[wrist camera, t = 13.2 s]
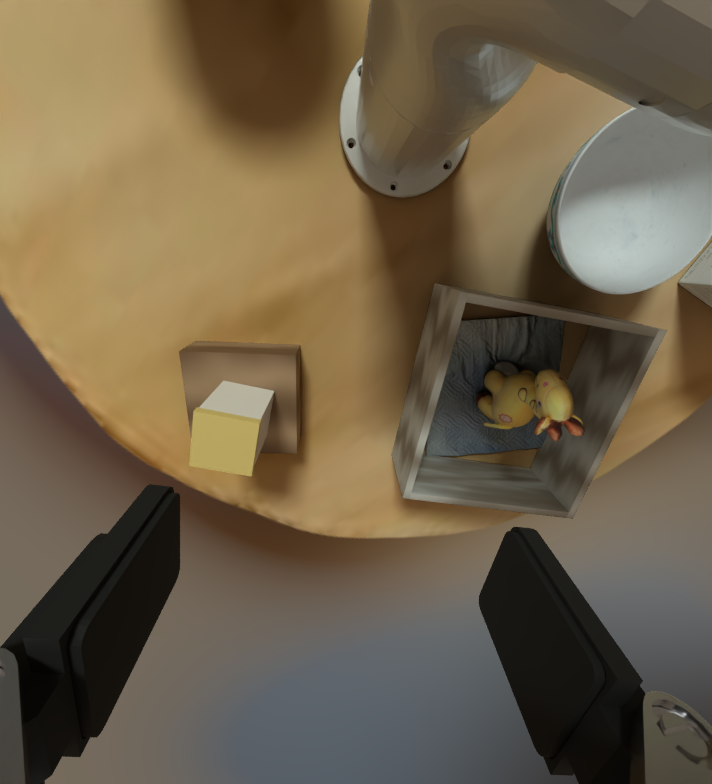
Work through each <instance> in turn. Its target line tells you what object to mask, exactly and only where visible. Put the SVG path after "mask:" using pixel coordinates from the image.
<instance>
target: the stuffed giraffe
mask: <svg viewBox="0 0 712 784" xmlns="http://www.w3.org/2000/svg"><path fill="white" fill-rule="evenodd" d="M564 325H565V321H564V320H559V319H553V318H548V317H543V316H537V315H535V316H529V317H510V318H498V319H482V320H469V321H461V322H460V325H459V329H458V332H457V335H456V339H455V342H454V346H453V349H452V353H451V356H450V360H449V363H448V367H447V370H446V374H445V377H444V381H443V384H442V388H441V391H440V395H439V398H438V402H437V405H436V409H435V412H434V416H433V419H432V423H431V426H430V430H429V433H428V437H427V456H433V455H434V456H438V455H439V456H460V455H467V454H485V453H494V452H505V451H513V450H515V449H531V448H542V445H543V443H544V441H545V439H546V437H547V433H548V435H549V436H550V438H551V439H552V440H554V441H559V439H560V438H561V436H562V428H561V427H562V425H563V424H564V425H565V427H566V428H567V430H568V432H569V433H570V434H572V435H574V436H577V437H578V436H582V435H584V433H585V427H584V424H583V421H582V420H581V419H580V418H579V417H577V416H576V415H573V408H574V406H573V397H572V394H571V392H570V390H569V388H568V385H567V383H566V381H565V379H564V378H563V377H562V375H560V374H559V364H560V360H561V351H562V345H563V334H564Z"/></svg>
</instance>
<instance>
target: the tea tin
mask: <svg viewBox="0 0 712 784" xmlns="http://www.w3.org/2000/svg"><path fill="white" fill-rule="evenodd" d="M273 397H274V391H273V390H268V389H263V388H258V387H253V386H248V385H243V384H238V383H233V382H228V381H223V382H222V383H221V384H220V385H219V386H218V387H217V388H216V389H215V390H214V392H213V393H212V394H211V395H210V396H209V397H208V398H207V399H206V400H205V401H204V403H203V404H202V405H201V406H200V407H199V408H198V407H197V408H196V409H195V410H194V411H193V424H192V437H191V450H190V463H189V466H193V467H199V468H205V469H211V470H217V471H222V472H228V473H234V474H240V475H245V476H251V477H252V474H253V472H254V466H255V463H256V461H257V459H258V456H259V454H260V451H261V449H262V446H263V444H264V441H265V439H266V436H267V434H268V428H269V422H270V415H271V409H272V403H273Z"/></svg>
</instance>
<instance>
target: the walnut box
mask: <svg viewBox="0 0 712 784" xmlns="http://www.w3.org/2000/svg"><path fill="white" fill-rule="evenodd" d="M179 354H180V361H181V369H182V376H183V383H184V390H185V398H186V405H187V412H188V419H189V427H190V434H191V437H192V424H193V411H194V410H195V409H196V408H197V407H198V408H199V407H200V406H201V405H202V404H203V403H204V401H205V400H206V399H207V398H208V397H209V396H210V395H211V394H212V393H213V392H214V390H215V389H216V388H217V387H218V386H219V385H220V384H221V383H222V382H223V381H228V382H233V383H238V384H243V385H248V386H253V387H258V388H263V389H268V390H273V391H274V397H273V403H272V409H271V415H270V422H269V428H268V434H267V436H266V439H265V441H264V444H263V446H262V449H261V451H260V453H296V454H297V451H298V446H299V441H300V436H301V398H300V345H291V344H265V343H238V342H211V341H195V342H193V343H192V344H190V345H188V346H187V347H185V348H184V349H182V350H181V351H179Z"/></svg>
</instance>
